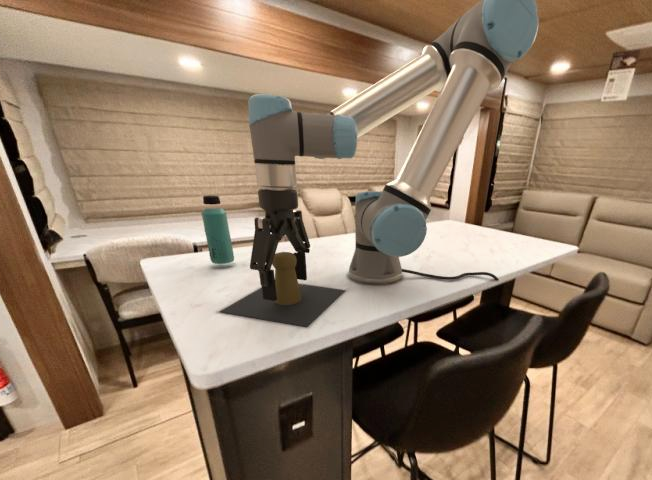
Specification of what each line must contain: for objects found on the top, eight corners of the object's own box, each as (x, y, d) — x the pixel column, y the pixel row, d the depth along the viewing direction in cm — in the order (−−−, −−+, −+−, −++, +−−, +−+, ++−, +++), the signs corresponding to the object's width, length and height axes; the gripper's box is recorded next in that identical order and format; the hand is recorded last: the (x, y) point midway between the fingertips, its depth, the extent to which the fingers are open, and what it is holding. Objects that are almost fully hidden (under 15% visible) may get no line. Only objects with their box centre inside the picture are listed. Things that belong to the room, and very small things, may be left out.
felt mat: (344, 290, 78) (344, 290, 78) (306, 327, 60) (306, 326, 60) (274, 281, 82) (274, 280, 82) (219, 312, 64) (219, 311, 64)
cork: (286, 307, 67) (282, 258, 63) (268, 300, 70) (262, 253, 66) (307, 298, 72) (303, 252, 67) (288, 292, 75) (284, 248, 70)
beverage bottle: (239, 263, 95) (229, 195, 87) (227, 270, 89) (215, 197, 81) (219, 261, 95) (207, 193, 87) (206, 268, 89) (191, 196, 81)
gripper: (292, 184, 73) (299, 270, 82) (215, 191, 51) (235, 307, 60) (321, 186, 71) (325, 273, 80) (255, 193, 49) (270, 313, 58)
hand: (287, 288), depth 70 cm, fingers open, 12 cm apart
